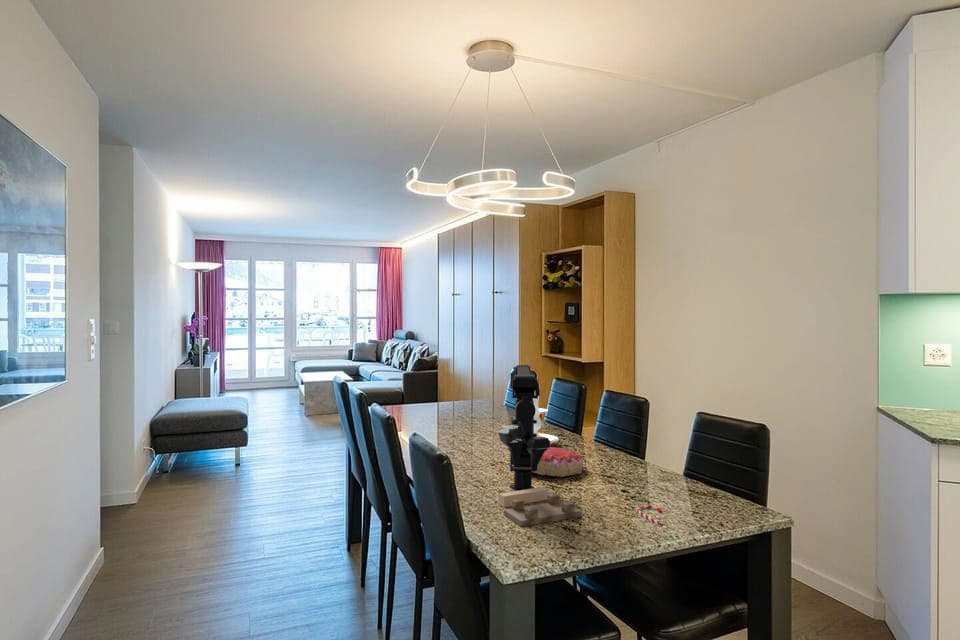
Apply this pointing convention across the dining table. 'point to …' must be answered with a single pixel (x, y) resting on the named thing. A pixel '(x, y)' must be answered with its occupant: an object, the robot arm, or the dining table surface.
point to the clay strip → (523, 496)
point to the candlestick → (539, 423)
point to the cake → (559, 463)
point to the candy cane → (648, 516)
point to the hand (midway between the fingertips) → (524, 468)
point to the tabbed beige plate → (542, 511)
